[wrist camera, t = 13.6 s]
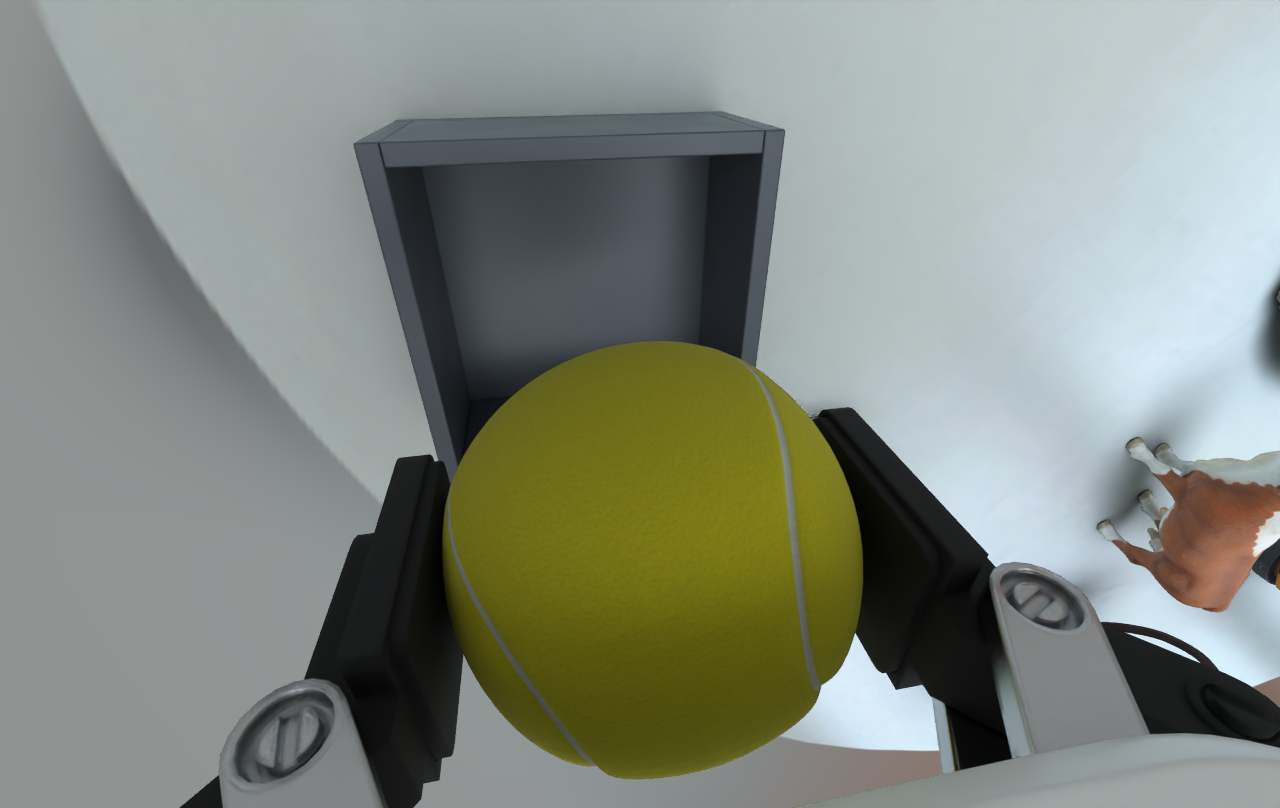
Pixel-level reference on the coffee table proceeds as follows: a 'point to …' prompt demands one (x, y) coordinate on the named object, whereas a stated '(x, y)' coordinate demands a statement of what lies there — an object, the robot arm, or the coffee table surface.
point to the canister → (1269, 564)
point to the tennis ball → (652, 560)
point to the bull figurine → (1206, 523)
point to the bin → (566, 244)
